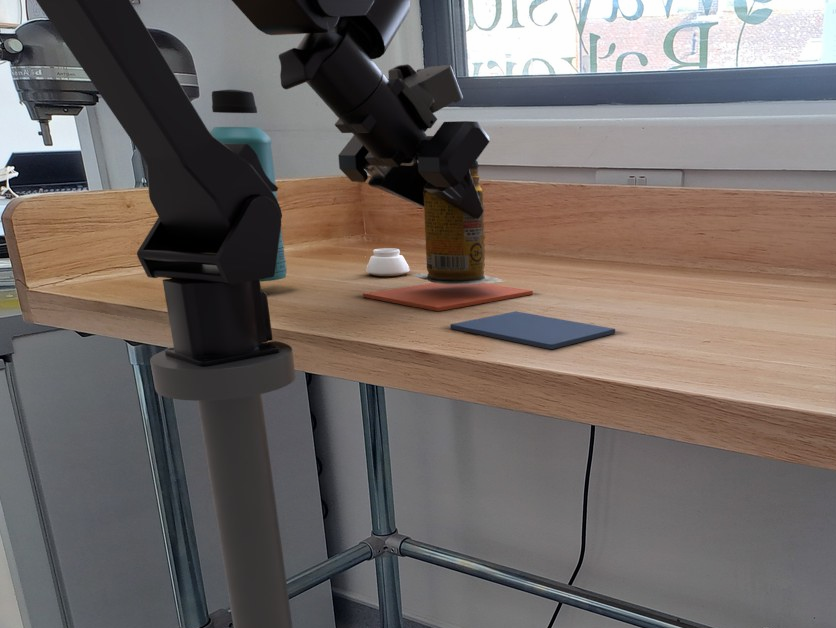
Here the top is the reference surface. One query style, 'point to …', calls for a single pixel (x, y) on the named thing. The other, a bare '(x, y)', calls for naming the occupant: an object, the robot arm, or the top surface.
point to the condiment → (454, 241)
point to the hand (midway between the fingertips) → (461, 213)
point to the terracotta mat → (447, 295)
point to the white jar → (387, 263)
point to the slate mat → (533, 329)
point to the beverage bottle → (252, 136)
